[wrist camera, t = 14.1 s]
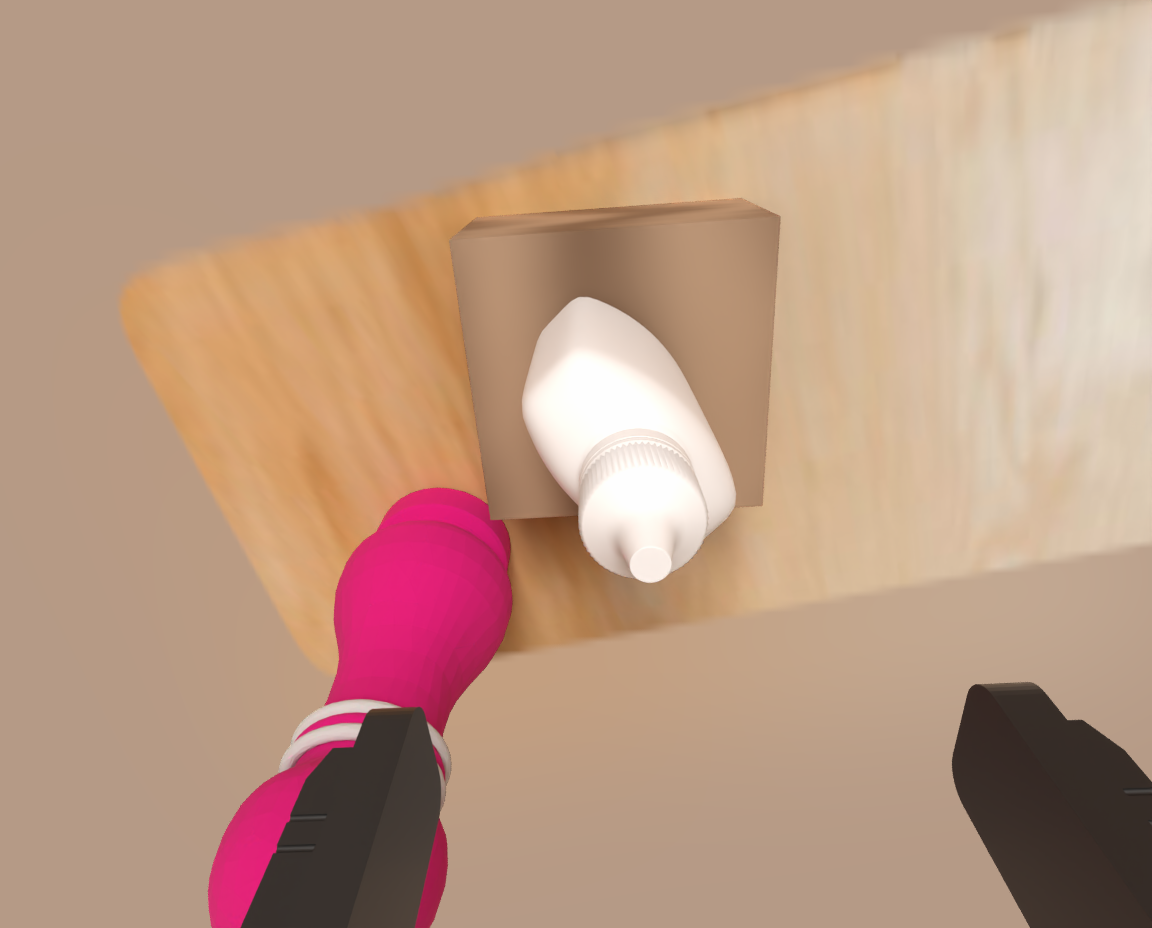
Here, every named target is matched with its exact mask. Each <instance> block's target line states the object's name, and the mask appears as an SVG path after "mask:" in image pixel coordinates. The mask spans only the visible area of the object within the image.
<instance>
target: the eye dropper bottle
mask: <svg viewBox="0 0 1152 928" xmlns="http://www.w3.org/2000/svg"><path fill="white" fill-rule="evenodd" d="M522 413H523V419H524V421H525V424H526V427H527V430H528V432H529V434H530V437H531V439H532V441H533V443H534V445H535V447H536V449H537V451H538V453H539V455H540V457H541V459H542V460H543V462H544V464H545V465H546V467H547V468H548V470H549V471H550V473H551V474H552V476H553V477H554V479H555V480H556V481H557V483H558V484H559V485H560V486H561V488H562V489H563V490H564V491H565V492H566V493H567V494H568V495H569V497H570V498H571V499H572V500H573V501H574V502H575V503H576V504H577V505H578V506H579V510H578V523H579V530H580V533H579V534H580V535H581V540H582V541H583V546H585V547H586V551H587V552H589V553H590V556H591V557H593V558H594V561H596V562H598V564H599V565H601V566H603V567H604V569H608V570H609V572H614V574H617V575H620V576H625V577H627V578H633V579H638V580H640V581H642V582H645V583H654V582H658V581H661V580H662V579H664V578H665V577H666V576H667V575H668V574H669V573H672V572H673V571H675V570H678V569H679V568H680V567H683V566H684V564H686V563H688V562H689V560H690V559H692V558H693V556H694V555H695V554H697V550H699V549H700V548H701V547H700V545H702V544H703V543H704V541H703V540H704V538H705V537H707V536H708V535H709V534H710V533H711V532H713V531H714V530H715V529H716V528H717V527H718V526H719V525H720V524H721V523H722V522H723V521H725V520H726V519H727V518H728V517H729V515H730V514H731V512H732V510H733V509H734V507H735V502H736V491H735V486H734V482H733V478H732V475H731V472H730V469H729V466H728V464H727V462H726V459H725V457H724V455H723V453H722V451H721V448H720V446H719V444H718V442H717V440H716V438H715V436H714V434H713V432H712V430H711V428H710V426H709V424H708V422H707V420H706V418H705V416H704V414H703V412H702V410H701V408H700V406H699V404H698V402H697V400H696V398H695V396H694V394H693V392H692V390H691V388H690V386H689V384H688V382H687V380H686V379H685V377H684V375H683V373H682V371H681V370H680V368H679V366H678V365H677V363H676V362H675V360H674V359H673V357H672V356H671V355H670V353H669V352H668V351H667V350H666V348H665V347H664V346H663V345H662V344H661V343H660V342H659V340H658V339H657V338H656V337H655V336H654V335H653V334H652V333H650V332H649V331H648V330H647V329H646V328H645V327H644V326H642V325H641V324H640V323H638V322H637V321H636V320H634V319H633V318H631V317H630V316H628V315H627V314H625V313H623V312H622V311H620V310H618V309H616V308H614V307H612V306H610V305H608V304H606V303H604V302H601V301H599V300H596V299H593V298H590V297H578V298H576V299H574V300H572V301H571V302H570V303H568V304H567V305H566V306H565V307H564V308H563V309H562V310H561V311H560V312H559V313H558V315H557V316H556V317H555V318H554V319H553V320H552V321H551V322H550V323H549V324H548V325H547V326H546V327H545V328H544V330H543V331H542V332H541V334H540V336H539V338H538V340H537V343H536V347H535V350H534V354H533V357H532V361H531V364H530V368H529V371H528V375H527V379H526V383H525V386H524V391H523V396H522Z"/></svg>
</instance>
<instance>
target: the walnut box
mask: <svg viewBox="0 0 1152 928" xmlns="http://www.w3.org/2000/svg"><path fill="white" fill-rule="evenodd" d="M779 233H780V216H779V215H776V214H774V213H772V212H770V211H768V210H766V209H764V208H761V207H759V206H757V205H755V204H753V203H751V202H749V201H746V200H744V199H742V198H737V199H723V200H709V201H695V202H682V203H668V204H654V205H640V206H627V207H613V208H599V209H585V210H572V211H558V212H544V213H530V214H517V215H503V216H489V217H477V218H475V219H474V220H473V221H472V222H470V223H469V224H468V225H467V226H466V227H464V228H463V229H462V230H461V231H460V232H458V233H457V234H456V235H455V236H453V237H452V238H451V239H450V240H449V243H450V250H451V256H452V263H453V270H454V277H455V283H456V290H457V297H458V304H459V310H460V317H461V324H462V331H463V337H464V344H465V351H466V358H467V364H468V371H469V378H470V385H471V391H472V398H473V405H474V412H475V418H476V425H477V432H478V439H479V445H480V452H481V459H482V466H483V472H484V479H485V486H486V493H487V499H488V506H489V513H490V520H505V519H524V518H543V517H562V516H578V510H579V506H578V505H577V504H576V503H575V502H574V501H573V500H572V499H571V498H570V497H569V495H568V494H567V493H566V492H565V491H564V490H563V489H562V488H561V486H560V485H559V484H558V483H557V481H556V480H555V479H554V477H553V476H552V474H551V473H550V471H549V470H548V468H547V467H546V465H545V464H544V462H543V460H542V459H541V457H540V455H539V453H538V451H537V449H536V447H535V445H534V443H533V441H532V439H531V437H530V434H529V432H528V430H527V427H526V424H525V421H524V419H523V413H522V396H523V391H524V386H525V383H526V379H527V375H528V371H529V368H530V364H531V361H532V357H533V354H534V350H535V347H536V343H537V340H538V338H539V336H540V334H541V332H542V331H543V330H544V328H545V327H546V326H547V325H548V324H549V323H550V322H551V321H552V320H553V319H554V318H555V317H556V316H557V315H558V313H559V312H560V311H561V310H562V309H563V308H564V307H565V306H566V305H567V304H568V303H570V302H571V301H572V300H574V299H576V298H578V297H590V298H593V299H596V300H599V301H601V302H604V303H606V304H608V305H610V306H612V307H614V308H616V309H618V310H620V311H622V312H623V313H625V314H627V315H628V316H630V317H631V318H633V319H634V320H636V321H637V322H638V323H640V324H641V325H642V326H644V327H645V328H646V329H647V330H648V331H649V332H650V333H652V334H653V335H654V336H655V337H656V338H657V339H658V340H659V342H660V343H661V344H662V345H663V346H664V347H665V348H666V350H667V351H668V352H669V353H670V355H671V356H672V357H673V359H674V360H675V362H676V363H677V365H678V366H679V368H680V370H681V371H682V373H683V375H684V377H685V379H686V380H687V382H688V384H689V386H690V388H691V390H692V392H693V394H694V396H695V398H696V400H697V402H698V404H699V406H700V408H701V410H702V412H703V414H704V416H705V418H706V420H707V422H708V424H709V426H710V428H711V430H712V432H713V434H714V436H715V438H716V440H717V442H718V444H719V446H720V448H721V451H722V453H723V455H724V457H725V459H726V462H727V464H728V466H729V469H730V472H731V475H732V478H733V482H734V486H735V491H736V502H735V507H753V506H762V505H763V489H764V473H765V457H766V441H767V425H768V409H769V393H770V377H771V361H772V345H773V329H774V313H775V297H776V281H777V265H778V249H779Z"/></svg>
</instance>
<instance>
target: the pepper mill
mask: <svg viewBox="0 0 1152 928" xmlns="http://www.w3.org/2000/svg"><path fill="white" fill-rule="evenodd" d="M509 558H510V539H509V535H508V532H507V529H506V527H505V525H504V523H503V522H502V520H490V513H489V506H488V505H487V504H486V503H485V502H483V501H482V500H480V499H479V498H477V497H475V496H473V495H470V494H468V493H466V492H463V491H459V490H454V489H449V488H430V489H423V490H419V491H416V492H413V493H410V494H408V495H407V496H405V497H403V498H401V499H400V500H399V501H397V502H396V503H395V504H394V505H393V506H392V507H391V508H390V509H389V511H388V512H387V513H386V515H385V516H384V518H383V520H382V522H381V524H380V526H379V528H378V530H377V532H375V533H374V534H372V535H371V536H369V537H368V538H367V539H365V540H364V541H363V542H362V543H361V544H360V545H359V546H358V547H357V548H356V550H355V551H354V552H353V553H352V555H351V557H350V558H349V560H348V561H347V563H346V565H345V568H344V570H343V573H342V575H341V577H340V580H339V583H338V586H337V590H336V595H335V606H334V626H335V633H336V638H337V644H338V650H339V663H338V669H337V674H336V677H335V680H334V683H333V686H332V688H331V691H330V694H329V697H328V700H327V702H326V703H325V705H324V706H323V707H321V708H320V709H318V710H316V711H314V712H313V713H311V714H310V715H309V716H307V717H306V718H305V719H304V720H303V721H302V722H301V723H300V724H299V726H298V727H297V729H296V731H295V733H294V735H293V738H292V740H291V746H290V747H289V748H288V749H287V750H286V752H285V754H284V756H283V757H282V760H281V763H280V767H279V773H278V774H277V775H275V776H274V777H272V778H270V779H269V780H267V781H266V782H264V783H263V784H262V785H261V786H259V787H258V788H257V789H256V790H255V791H254V792H253V793H252V794H251V795H250V796H249V797H248V798H247V799H246V800H245V801H244V802H243V803H242V805H241V806H240V808H239V810H238V811H237V812H236V814H235V816H234V817H233V819H232V821H231V822H230V824H229V825H228V827H227V829H226V831H225V833H224V835H223V837H222V840H221V843H220V846H219V848H218V851H217V854H216V857H215V859H214V862H213V866H212V871H211V874H210V878H209V889H208V901H209V913H210V920H211V926H212V928H240V927H241V925H242V923H243V921H244V918H245V916H246V914H247V911H248V909H249V907H250V905H251V902H252V900H253V898H254V896H255V893H256V891H257V889H258V886H259V884H260V882H261V880H262V877H263V875H264V873H265V871H266V868H267V866H268V864H269V861H270V859H271V857H272V855H273V853H276V850H277V843H278V841H279V839H280V836H281V834H282V832H283V830H284V827H285V825H286V823H287V822H289V821H290V814H291V811H292V809H293V807H294V805H295V802H296V800H297V798H298V795H299V793H300V791H301V789H302V786H303V784H304V782H305V780H306V778H307V777H308V776H309V775H310V774H311V772H312V771H313V770H314V769H315V768H316V767H317V766H318V764H319V763H320V762H321V761H322V760H323V759H324V758H325V756H326V755H327V754H328V753H329V752H330V751H331V750H332V748H344V747H353V746H354V744H355V741H356V738H357V736H358V733H359V731H360V728H361V725H362V723H363V720H364V718H365V716H366V714H367V713H368V711H369V710H371V709H378V708H401V707H421V708H422V709H423V711H424V713H425V716H426V720H427V724H428V728H429V732H430V736H431V741H432V745H433V749H434V753H435V757H436V761H437V765H438V769H439V773H440V779H441V807H440V811H441V809H442V807H443V804H444V801H445V796H446V785H447V783H448V780H449V777H450V773H451V757H450V753H449V750H448V747H447V745H446V743H445V741H444V739H443V738H442V737H443V732H444V729H445V726H446V723H447V720H448V717H449V714H450V712H451V710H452V708H453V706H454V705H455V703H456V701H457V700H458V699H459V697H460V696H461V695H462V694H463V692H464V691H465V690H466V689H467V687H468V686H469V685H470V684H471V683H472V682H473V681H474V680H475V679H476V677H477V676H478V675H479V674H480V673H481V672H482V671H483V670H484V669H485V668H486V666H487V665H488V664H489V662H490V661H491V659H492V658H493V656H494V654H495V652H496V651H497V649H498V647H499V646H500V644H501V642H502V641H503V638H504V635H505V631H506V628H507V625H508V622H509V619H510V616H511V610H512V590H511V583H510V580H509V577H508V574H507V569H508V563H509ZM447 867H448V858H447V840H446V834H445V832H444V829H443V827H442V824H441V822H440V819H439V820H438V825H437V830H436V834H435V839H434V843H433V848H432V852H431V857H430V861H429V866H428V870H427V875H426V879H425V884H424V888H423V893H422V897H421V902H420V907H419V911H418V916H417V920H416V925H415V928H430V926H431V924H432V922H433V921H434V918H435V915H436V912H437V909H438V906H439V903H440V900H441V897H442V894H443V891H444V887H445V883H446V875H447Z"/></svg>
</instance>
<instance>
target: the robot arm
mask: <svg viewBox="0 0 1152 928" xmlns="http://www.w3.org/2000/svg"><path fill="white" fill-rule="evenodd" d="M952 771H953V778H954V782H955V786H956V789H957V792H958V795H959V797H960V800H961V802H962V804H963V806H964V808H965V810H966V811H967V813H968V815H969V817H970V819H971V821H972V822H973V824H974V826H975V828H976V830H977V832H978V834H979V835H980V837H981V839H982V841H983V843H984V845H985V846H986V848H987V850H988V852H989V854H990V855H991V857H992V859H993V861H994V863H995V865H996V866H997V868H998V870H999V872H1000V873H1001V875H1002V877H1003V879H1004V881H1005V883H1006V885H1007V886H1008V888H1009V890H1010V892H1011V894H1012V896H1013V897H1014V899H1015V901H1016V903H1017V905H1018V907H1019V908H1020V910H1021V912H1022V914H1023V916H1024V917H1025V919H1026V921H1027V923H1028V925H1029V926H1030V928H1152V782H1151V781H1150V779H1149V778H1148V777H1147V776H1146V775H1145V774H1144V772H1143V771H1142V770H1141V769H1140V768H1139V767H1138V765H1137V764H1136V763H1135V762H1134V761H1133V760H1132V758H1131V757H1130V756H1129V755H1128V754H1127V753H1126V751H1125V750H1123V749H1122V748H1121V747H1119V746H1118V745H1116V744H1115V743H1114V742H1112V741H1111V740H1110V739H1108V738H1107V737H1105V736H1104V735H1103V734H1101V733H1100V732H1098V731H1097V730H1096V729H1094V728H1093V727H1092V726H1090V725H1089V724H1087V723H1086V722H1085V721H1083V720H1067V719H1066V718H1065V717H1064V716H1063V714H1062V713H1061V712H1060V711H1059V709H1058V708H1057V707H1056V706H1055V704H1054V703H1053V702H1052V701H1051V700H1050V698H1049V697H1048V696H1047V695H1046V693H1045V692H1044V691H1043V690H1042V689H1041V688H1040V687H1039V686H1037V685H1035V684H1034V683H1031V682H1021V683H999V684H975V685H973V686H972V687H971V688H970V689H969V691H968V694H967V698H966V703H965V706H964V711H963V715H962V719H961V723H960V728H959V732H958V735H957V740H956V744H955V749H954V752H953V758H952ZM440 807H441V779H440V773H439V769H438V765H437V761H436V757H435V753H434V749H433V745H432V741H431V736H430V732H429V728H428V724H427V720H426V716H425V713H424V711H423V709H422V708H421V707H401V708H378V709H371V710H369V711H368V713H367V714H366V716H365V718H364V720H363V723H362V725H361V728H360V731H359V733H358V736H357V738H356V741H355V744H354V746H353V747H344V748H332V750H331V751H330V752H329V753H328V754H327V755H326V756H325V758H324V759H323V760H322V761H321V762H320V763H319V764H318V766H317V767H316V768H315V769H314V770H313V771H312V772H311V774H310V775H309V776H308V777H307V778H306V780H305V782H304V784H303V786H302V789H301V791H300V793H299V795H298V798H297V800H296V802H295V805H294V807H293V809H292V811H291V814H290V821H289V822H287V823H286V825H285V827H284V830H283V832H282V834H281V836H280V839H279V841H278V843H277V850H276V853H273V855H272V857H271V859H270V861H269V864H268V866H267V868H266V871H265V873H264V875H263V877H262V880H261V882H260V884H259V886H258V889H257V891H256V893H255V896H254V898H253V900H252V902H251V905H250V907H249V909H248V911H247V914H246V916H245V918H244V921H243V923H242V925H241V927H240V928H415V925H416V920H417V916H418V911H419V907H420V902H421V897H422V893H423V888H424V884H425V879H426V875H427V870H428V866H429V861H430V857H431V852H432V848H433V843H434V839H435V834H436V830H437V825H438V820H439V815H440Z"/></svg>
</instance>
